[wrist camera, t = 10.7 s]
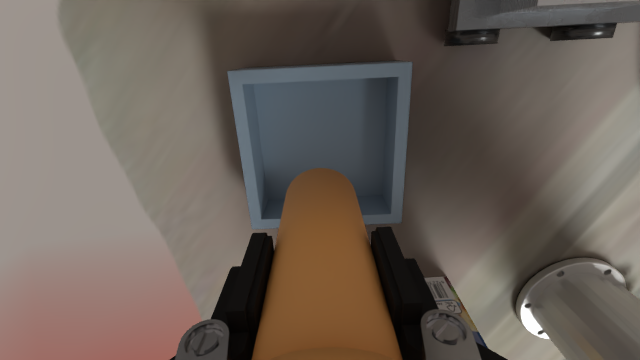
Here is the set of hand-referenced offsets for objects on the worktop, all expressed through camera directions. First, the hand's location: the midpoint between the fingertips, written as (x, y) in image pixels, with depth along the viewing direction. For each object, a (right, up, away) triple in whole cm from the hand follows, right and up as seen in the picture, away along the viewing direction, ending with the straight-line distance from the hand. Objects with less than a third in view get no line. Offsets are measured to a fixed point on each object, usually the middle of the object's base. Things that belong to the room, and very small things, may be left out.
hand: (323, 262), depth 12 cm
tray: (0, +7, +18) cm, 19 cm away
